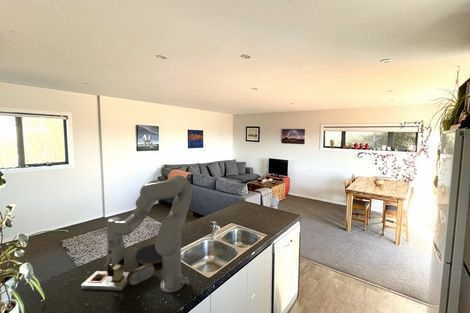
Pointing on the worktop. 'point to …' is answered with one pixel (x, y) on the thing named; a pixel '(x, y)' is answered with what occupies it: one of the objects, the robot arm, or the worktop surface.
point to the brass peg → (118, 273)
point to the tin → (140, 274)
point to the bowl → (148, 255)
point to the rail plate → (104, 282)
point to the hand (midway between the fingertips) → (116, 270)
